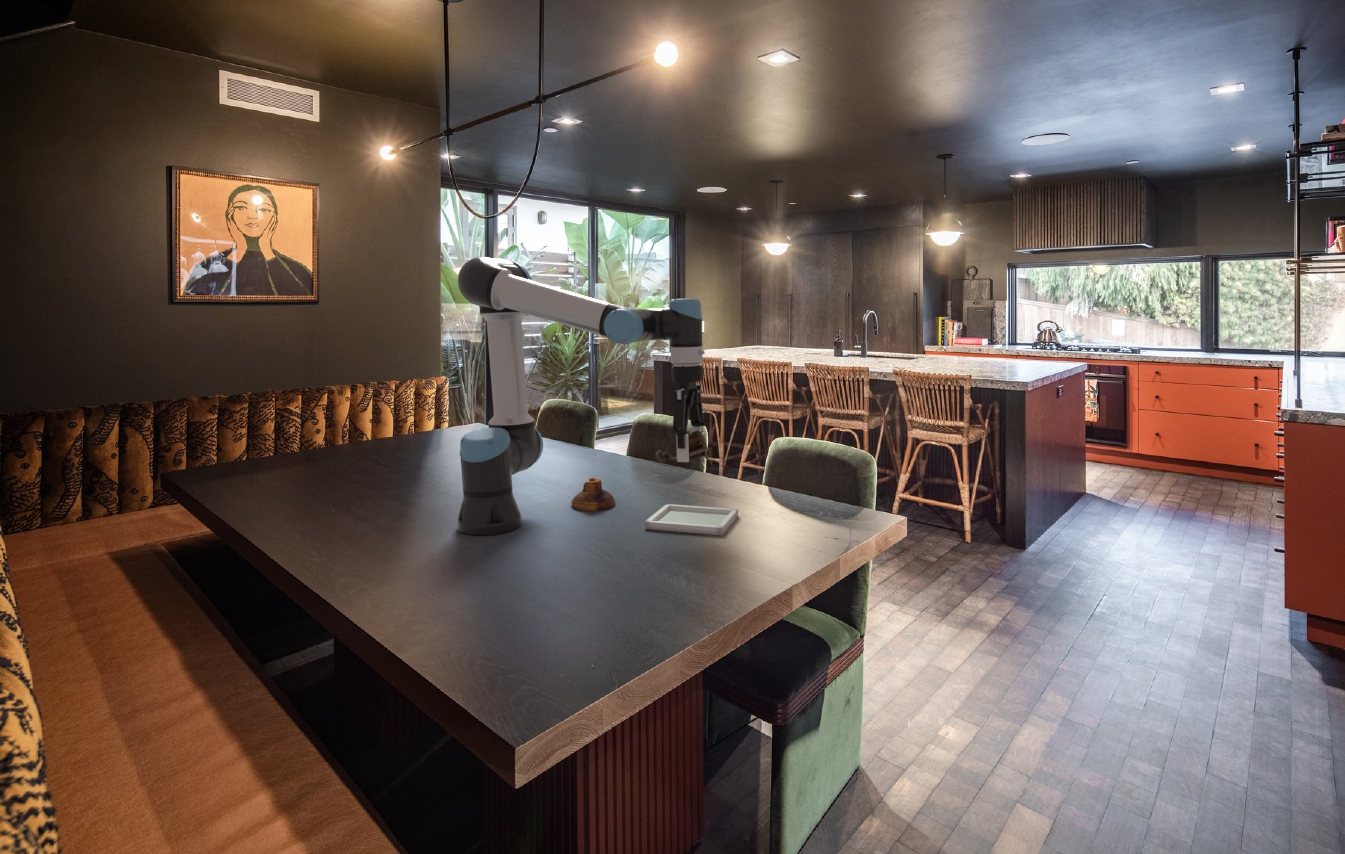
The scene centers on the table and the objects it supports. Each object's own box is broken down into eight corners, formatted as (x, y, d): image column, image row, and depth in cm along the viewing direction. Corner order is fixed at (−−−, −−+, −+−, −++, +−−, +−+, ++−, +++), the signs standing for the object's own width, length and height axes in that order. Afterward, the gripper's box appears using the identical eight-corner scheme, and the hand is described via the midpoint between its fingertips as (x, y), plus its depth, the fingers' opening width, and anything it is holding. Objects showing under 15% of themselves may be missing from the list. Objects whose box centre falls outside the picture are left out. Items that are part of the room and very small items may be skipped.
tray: (644, 528, 170) (644, 521, 170) (666, 510, 185) (666, 503, 185) (722, 535, 164) (721, 527, 164) (738, 516, 179) (738, 509, 179)
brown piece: (707, 442, 164) (712, 426, 173) (653, 437, 166) (661, 421, 175) (706, 470, 167) (711, 453, 176) (652, 465, 169) (660, 448, 178)
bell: (598, 513, 184) (597, 486, 183) (562, 508, 190) (561, 481, 189) (624, 503, 194) (623, 477, 193) (589, 497, 200) (588, 472, 199)
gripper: (687, 368, 156) (690, 467, 160) (715, 361, 177) (717, 448, 181) (655, 368, 159) (659, 466, 162) (686, 361, 180) (689, 447, 183)
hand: (689, 457), depth 172 cm, fingers closed on brown piece, 10 cm apart
